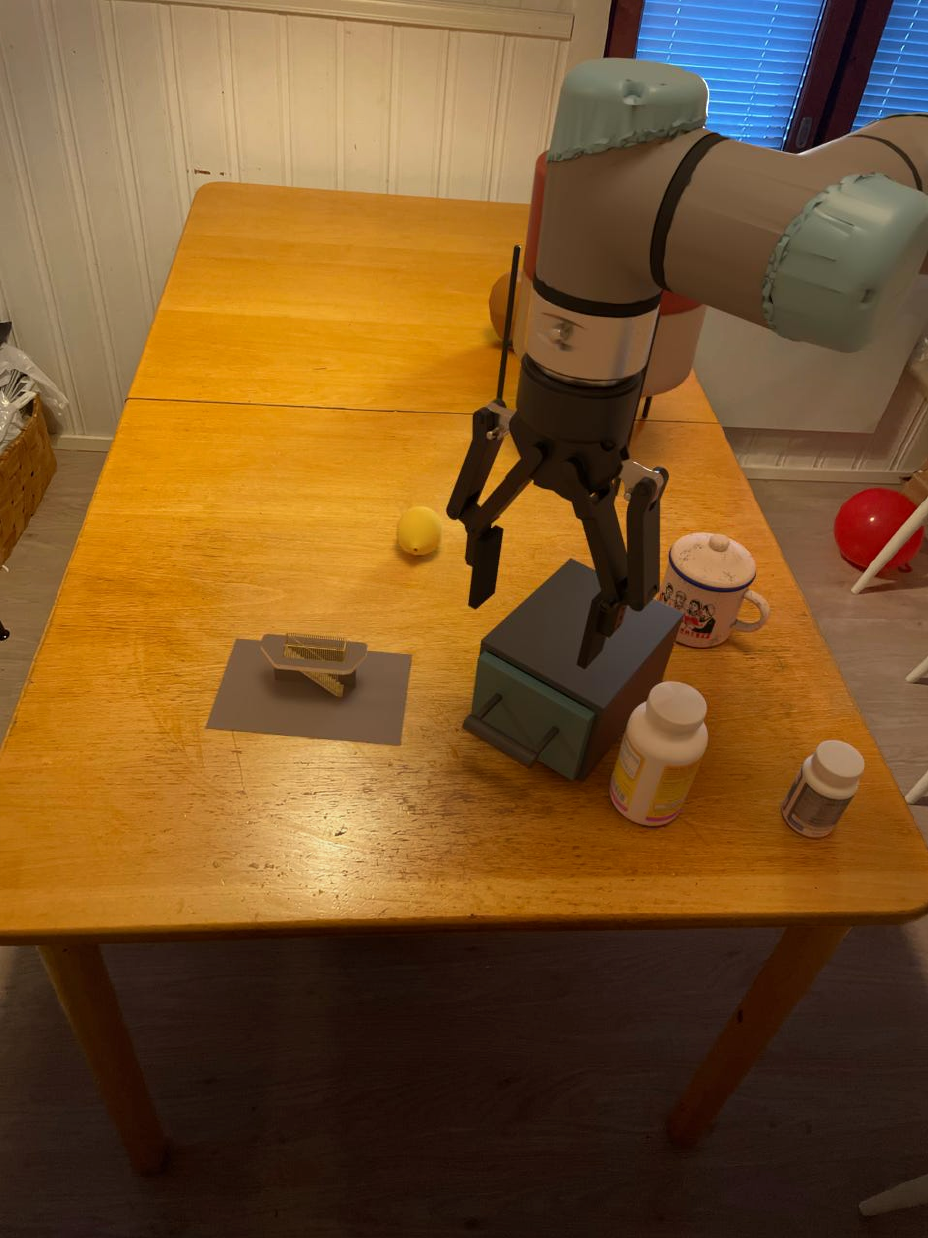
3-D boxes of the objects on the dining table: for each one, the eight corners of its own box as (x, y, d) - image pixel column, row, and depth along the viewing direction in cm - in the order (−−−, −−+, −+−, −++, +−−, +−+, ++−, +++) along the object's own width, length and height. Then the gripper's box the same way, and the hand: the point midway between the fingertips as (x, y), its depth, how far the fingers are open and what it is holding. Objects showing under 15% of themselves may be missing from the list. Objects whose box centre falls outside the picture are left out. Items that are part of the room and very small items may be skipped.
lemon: (400, 528, 106) (402, 491, 102) (445, 534, 106) (448, 497, 102) (390, 565, 101) (391, 527, 97) (436, 571, 100) (439, 533, 97)
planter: (527, 500, 112) (572, 209, 88) (485, 402, 130) (513, 138, 106) (697, 492, 117) (784, 213, 93) (634, 398, 135) (693, 144, 111)
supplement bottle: (691, 789, 80) (731, 694, 72) (665, 842, 76) (705, 747, 67) (624, 757, 83) (655, 660, 74) (595, 806, 78) (624, 709, 69)
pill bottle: (843, 835, 78) (881, 777, 72) (795, 842, 77) (830, 784, 71) (817, 791, 81) (851, 733, 76) (771, 797, 80) (802, 738, 75)
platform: (400, 745, 81) (402, 697, 77) (205, 727, 81) (196, 678, 77) (411, 654, 90) (414, 607, 86) (236, 638, 90) (230, 589, 85)
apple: (472, 331, 148) (478, 262, 140) (539, 322, 152) (549, 255, 145) (507, 366, 139) (515, 295, 132) (577, 355, 144) (589, 286, 136)
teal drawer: (543, 818, 76) (557, 757, 70) (437, 751, 80) (443, 689, 75) (646, 690, 88) (665, 630, 82) (550, 638, 92) (562, 578, 87)
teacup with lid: (635, 622, 97) (659, 537, 89) (675, 584, 102) (702, 501, 94) (733, 677, 92) (768, 593, 84) (770, 634, 97) (807, 551, 89)
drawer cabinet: (583, 783, 80) (604, 708, 73) (471, 715, 85) (480, 639, 78) (659, 686, 90) (684, 613, 83) (555, 631, 95) (570, 557, 88)
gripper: (403, 321, 56) (394, 590, 71) (725, 451, 47) (636, 725, 62) (472, 288, 60) (449, 546, 75) (776, 400, 52) (682, 667, 67)
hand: (534, 627), depth 69 cm, fingers open, 9 cm apart
